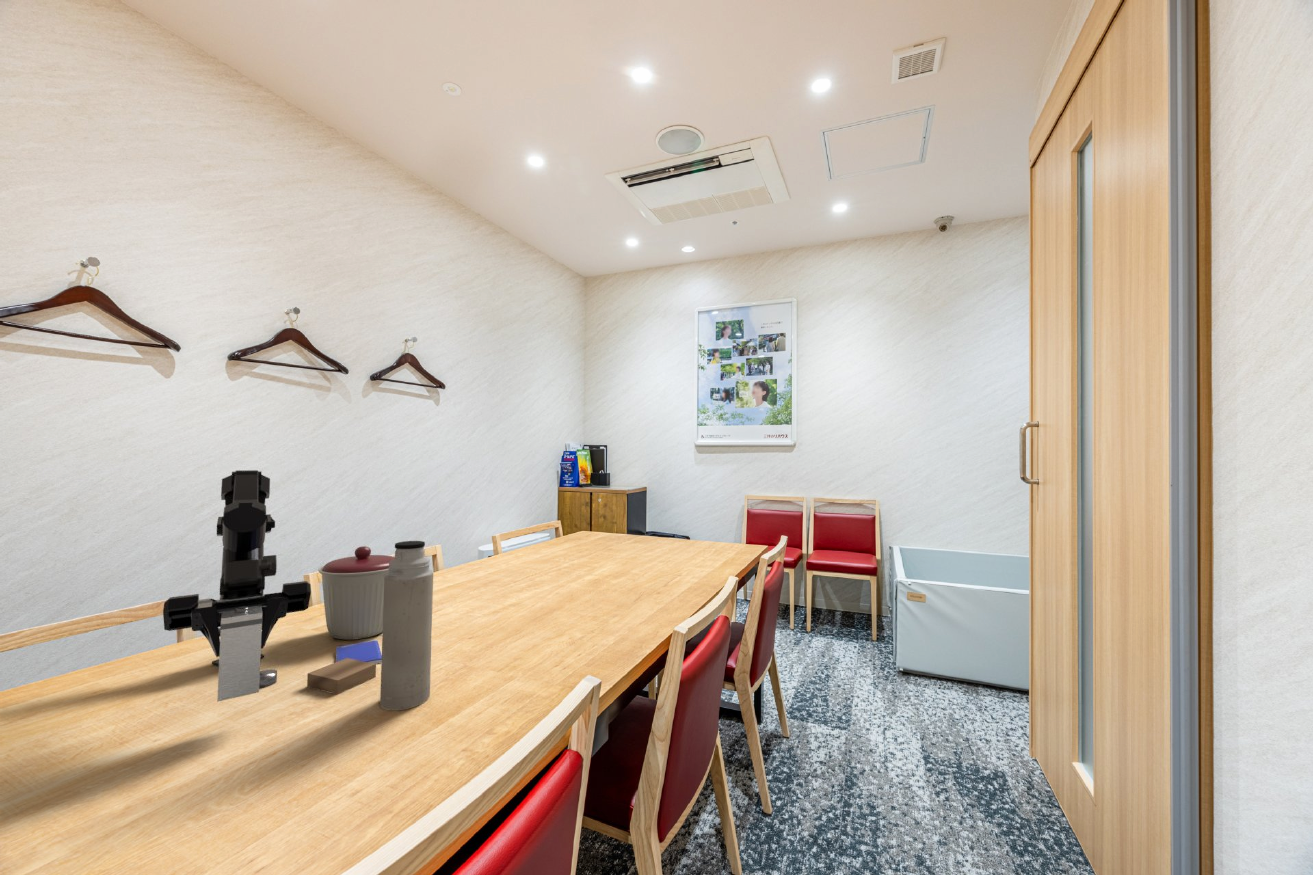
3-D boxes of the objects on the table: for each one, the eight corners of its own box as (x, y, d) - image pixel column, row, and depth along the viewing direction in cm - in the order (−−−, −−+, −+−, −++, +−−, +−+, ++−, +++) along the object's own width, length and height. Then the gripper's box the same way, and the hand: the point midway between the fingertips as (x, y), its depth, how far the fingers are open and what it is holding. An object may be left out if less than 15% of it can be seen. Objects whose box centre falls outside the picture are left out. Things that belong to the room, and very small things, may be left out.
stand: (307, 686, 95) (307, 673, 95) (346, 670, 103) (346, 657, 103) (337, 694, 92) (338, 680, 92) (375, 676, 100) (376, 663, 100)
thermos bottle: (405, 686, 96) (410, 537, 97) (439, 693, 93) (443, 539, 94) (369, 705, 88) (374, 543, 89) (405, 713, 85) (410, 546, 87)
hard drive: (335, 646, 113) (337, 666, 102) (377, 639, 117) (383, 657, 107) (335, 653, 113) (336, 674, 102) (377, 646, 117) (382, 665, 107)
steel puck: (244, 688, 94) (244, 677, 95) (262, 679, 98) (263, 668, 99) (264, 689, 94) (264, 678, 94) (282, 680, 98) (282, 669, 98)
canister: (379, 616, 137) (382, 538, 138) (415, 630, 126) (418, 545, 127) (302, 635, 122) (306, 547, 123) (335, 652, 112) (339, 556, 113)
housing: (217, 689, 81) (221, 606, 82) (258, 680, 84) (261, 601, 85) (216, 701, 77) (220, 614, 78) (259, 692, 80) (262, 608, 81)
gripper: (167, 545, 79) (154, 637, 70) (311, 535, 91) (316, 612, 82) (170, 586, 85) (158, 676, 76) (305, 571, 96) (309, 647, 87)
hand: (240, 651), depth 80 cm, fingers closed on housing, 5 cm apart
